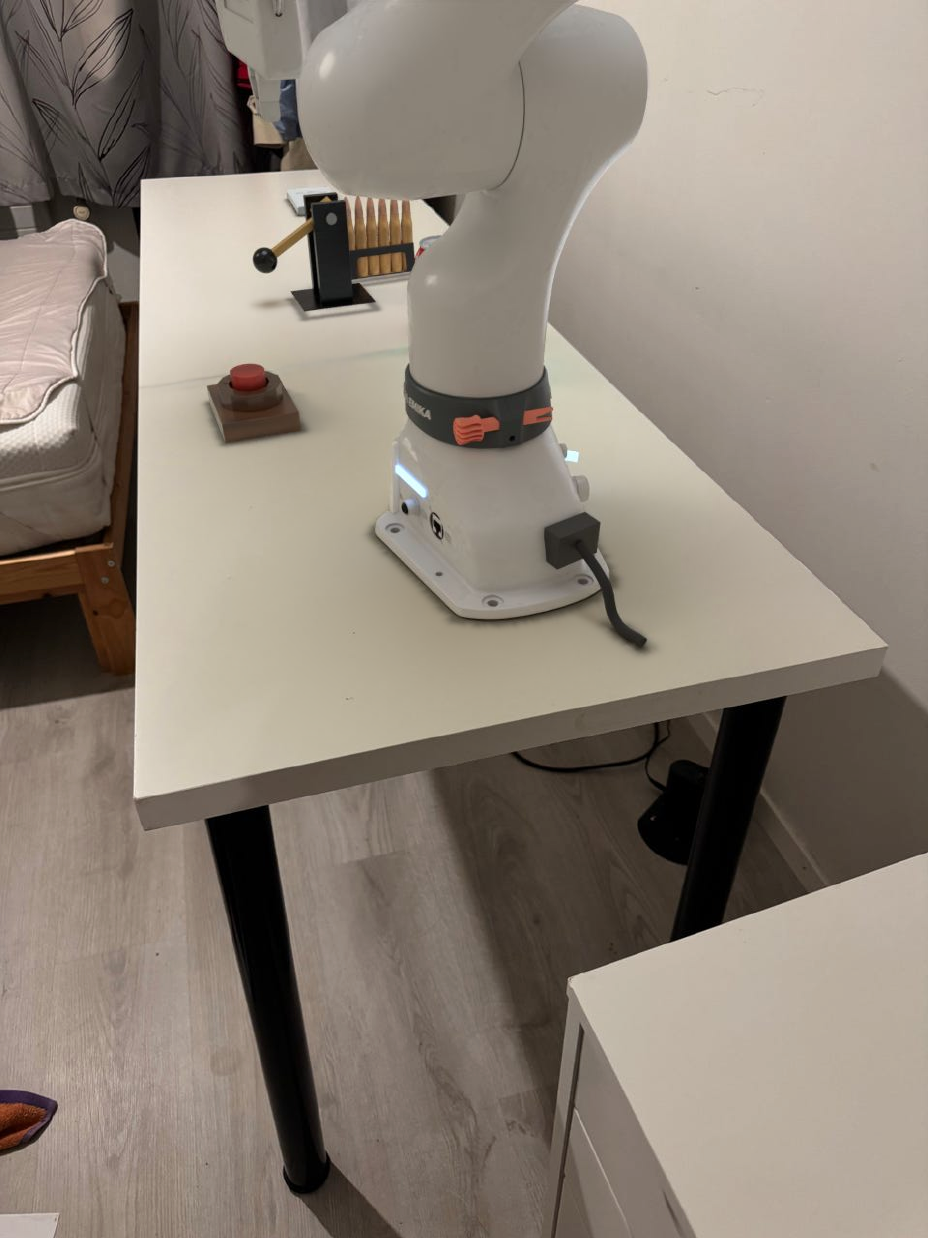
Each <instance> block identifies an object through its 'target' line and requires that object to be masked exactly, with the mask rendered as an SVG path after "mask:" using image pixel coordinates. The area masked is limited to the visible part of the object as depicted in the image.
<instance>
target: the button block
mask: <svg viewBox="0 0 928 1238" xmlns="http://www.w3.org/2000/svg"><path fill="white" fill-rule="evenodd" d="M265 377H266V384H267V385H266V387H263V388H261V389H259V390H254V391H237V390H235V389H233V388H232V383H231V377H230V374H228V375H227V374H226V375H225V376H223V377H222V378H221V379H220V380H219V381H218V382H217V383H214V384H208V385H207V384H206V391H207V396H208V401H209V405H210V408H211V410H212V413H213V415H214V418H215V421H216V424H217V425H218V429H219V430H220V433H221V436H222V439H223V441H224V443H225V444H230V443H235V442H242V441H247V440H252V439H258V438H264V437H271V436H276V435H282V434H288V433H294V432H299V431H302V428H301V420H300V411H299V409H298V408H297V406H296V405H295V403H294V401H293V399H292V397H291V396H290V393H289V392H288V390H287V388H286V387H285V385H284V383H283V381H282V379H281V377H280V376H279V374H276V373H273V372H271V371H268V370H265Z"/></svg>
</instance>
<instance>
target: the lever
mask: <svg viewBox="0 0 928 1238" xmlns="http://www.w3.org/2000/svg"><path fill="white" fill-rule="evenodd" d="M326 201H331V200H330V199H329V198H328V197H325V198H324V199H323V200H321V201H320V202H326ZM310 211H311V209H310ZM312 230H313V222H312V217H311V218H310V219H309V220H308V221H306V220H305V222H304V223H302V224H301V225H300V226H299V227H297V228H296V229H295V230H293V231H292V232H291V233H290V234H289V235H287V236H286V237H285V238H283V239H282V240H280V241H279V242H278V243H277V244H276V245H274V246H273V247H272V248H269V247H267V246H266V247H265V246H264V247H263V246H262V247H259V248H257V249H256V250H255V251H254V253H253V255H252V264H253V266H254V268H255V269H256V271H258V272H259V273H261V274H271V273H272V272H275V270H276V268H277V267H278V263H279V262H278V259H279V257H280V256H281V255H283V254H284V253H285V252H287V251H288V250H289V249H291V248H292V247H293V246H294V245H296V244H297V243H298V242H299V241H300V240H302V239H303V238H304V237H307V234H308V233H309V232H311V231H312Z"/></svg>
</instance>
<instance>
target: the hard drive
mask: <svg viewBox="0 0 928 1238" xmlns="http://www.w3.org/2000/svg"><path fill="white" fill-rule="evenodd" d="M331 192H334V191H333V190H332V188H331V187H330V186H316V187H302V188H290V189H287V190H286V197H287V199H288V201H289V203H290V204H291V206H292V207H293V209H294V210H295V212H296V213H297V215H298V216H302V217H303V216H305V209H304V199H303V195H309V194H320V193H331ZM338 200H340V199H339V198H338Z"/></svg>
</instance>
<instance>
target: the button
mask: <svg viewBox="0 0 928 1238" xmlns="http://www.w3.org/2000/svg"><path fill="white" fill-rule="evenodd" d="M265 371H266V370H265V367H264V366H262V364H258V363H241V364H238V365H235V366H233V367H232V368H231V369H230V370H229V375H230V377H231V383H232V388H233V389H235V390H237V391H254V390H259V389H261V388H263V387H266V385H267V384H266V377H265Z"/></svg>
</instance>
